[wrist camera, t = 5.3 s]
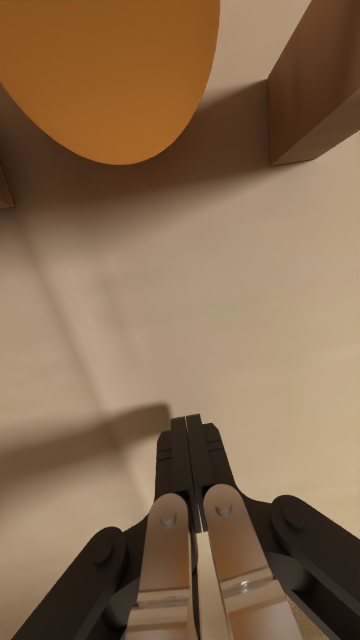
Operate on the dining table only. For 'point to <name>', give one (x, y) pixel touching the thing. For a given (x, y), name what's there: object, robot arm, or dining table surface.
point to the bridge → (308, 86)
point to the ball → (108, 70)
